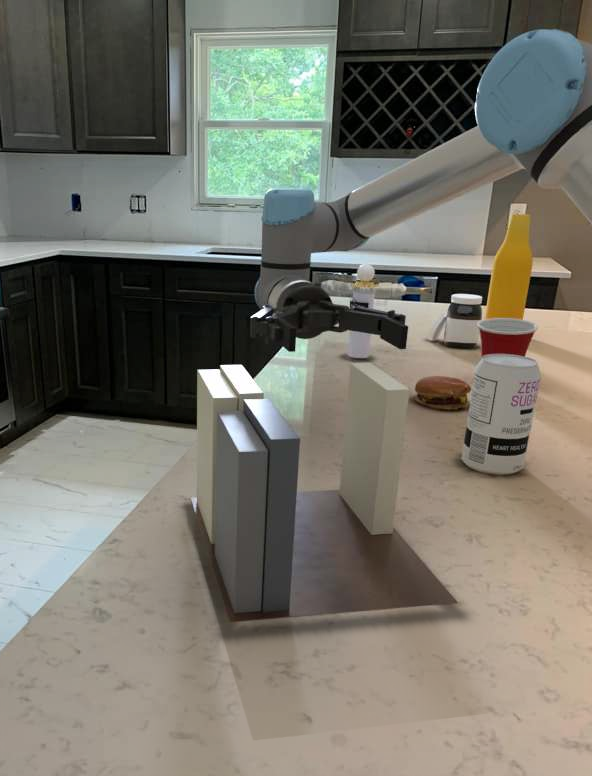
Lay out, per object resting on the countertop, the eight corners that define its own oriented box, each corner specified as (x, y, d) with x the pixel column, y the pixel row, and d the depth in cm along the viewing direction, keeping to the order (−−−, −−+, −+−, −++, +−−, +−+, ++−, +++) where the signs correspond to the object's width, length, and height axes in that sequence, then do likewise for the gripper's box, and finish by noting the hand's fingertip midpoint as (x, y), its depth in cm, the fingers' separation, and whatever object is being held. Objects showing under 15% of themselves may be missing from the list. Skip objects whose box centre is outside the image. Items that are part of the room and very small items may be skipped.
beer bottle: (474, 334, 187) (493, 213, 176) (493, 329, 193) (512, 213, 181) (508, 340, 181) (529, 215, 169) (526, 335, 186) (548, 215, 175)
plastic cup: (457, 384, 141) (466, 321, 137) (484, 374, 148) (494, 315, 144) (510, 396, 134) (522, 330, 130) (536, 386, 141) (548, 323, 137)
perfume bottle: (351, 354, 162) (359, 261, 155) (375, 358, 160) (385, 263, 152) (340, 359, 158) (347, 263, 150) (364, 363, 155) (373, 266, 147)
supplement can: (468, 452, 106) (485, 350, 101) (528, 463, 103) (548, 358, 97) (453, 469, 100) (470, 361, 94) (516, 482, 96) (537, 370, 90)
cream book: (357, 492, 88) (370, 362, 82) (392, 533, 78) (410, 389, 72) (338, 493, 88) (350, 362, 81) (371, 535, 78) (387, 389, 72)
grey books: (262, 550, 74) (268, 398, 68) (289, 610, 64) (300, 438, 58) (214, 554, 73) (216, 400, 67) (234, 614, 63) (239, 440, 57)
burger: (417, 394, 134) (420, 369, 132) (469, 400, 131) (473, 375, 129) (410, 409, 125) (413, 382, 124) (466, 416, 123) (470, 389, 121)
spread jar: (479, 351, 168) (487, 300, 163) (429, 348, 170) (435, 297, 165) (472, 341, 179) (479, 292, 174) (425, 338, 180) (431, 290, 176)
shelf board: (359, 499, 90) (360, 488, 89) (455, 616, 66) (458, 602, 66) (189, 509, 86) (189, 497, 86) (228, 636, 63) (229, 622, 62)
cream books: (237, 498, 86) (241, 364, 80) (257, 541, 76) (264, 392, 70) (196, 500, 85) (197, 365, 79) (211, 544, 75) (213, 394, 69)
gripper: (380, 332, 108) (444, 367, 89) (214, 335, 104) (243, 373, 84) (385, 280, 105) (453, 305, 86) (214, 281, 101) (245, 307, 81)
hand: (349, 339), depth 85 cm, fingers open, 13 cm apart
